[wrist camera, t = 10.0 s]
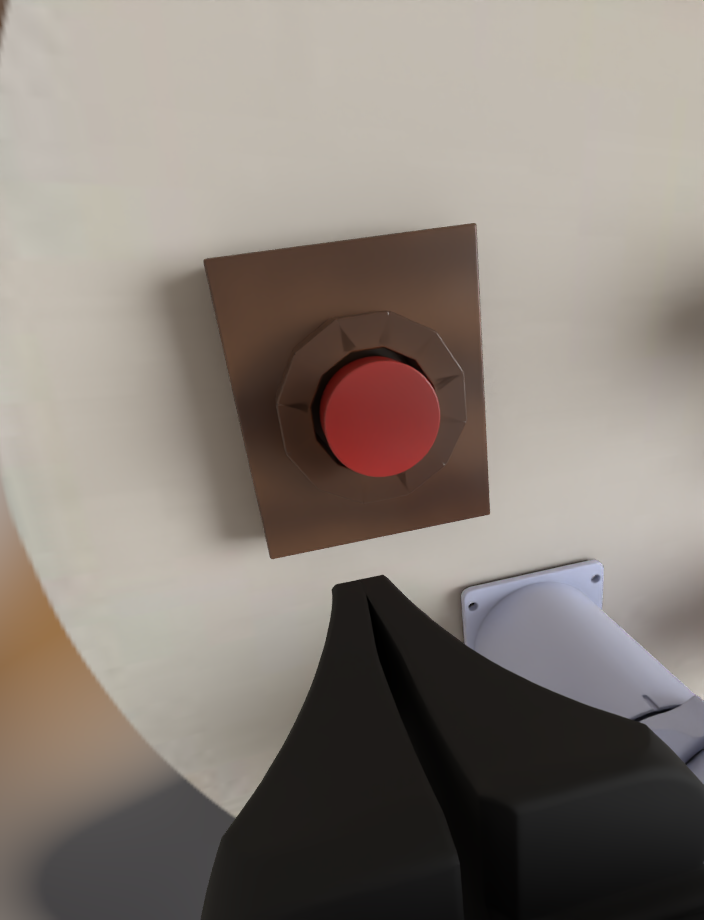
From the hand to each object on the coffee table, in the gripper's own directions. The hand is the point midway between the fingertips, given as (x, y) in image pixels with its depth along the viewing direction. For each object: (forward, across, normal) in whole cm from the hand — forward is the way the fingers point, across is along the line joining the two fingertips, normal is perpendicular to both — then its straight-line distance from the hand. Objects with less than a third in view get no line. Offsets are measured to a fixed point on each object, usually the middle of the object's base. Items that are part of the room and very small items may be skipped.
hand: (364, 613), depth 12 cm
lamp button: (+7, -2, -4) cm, 8 cm away
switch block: (+10, -2, -4) cm, 11 cm away
